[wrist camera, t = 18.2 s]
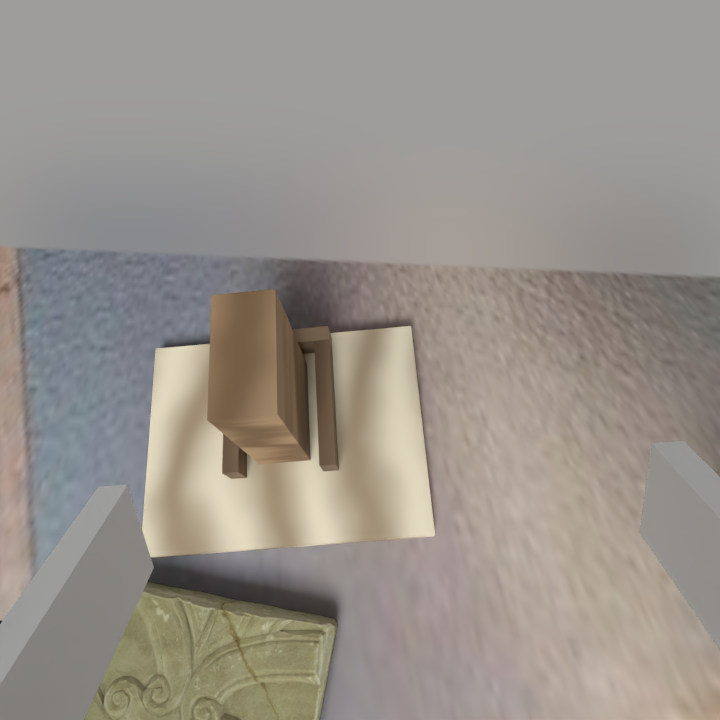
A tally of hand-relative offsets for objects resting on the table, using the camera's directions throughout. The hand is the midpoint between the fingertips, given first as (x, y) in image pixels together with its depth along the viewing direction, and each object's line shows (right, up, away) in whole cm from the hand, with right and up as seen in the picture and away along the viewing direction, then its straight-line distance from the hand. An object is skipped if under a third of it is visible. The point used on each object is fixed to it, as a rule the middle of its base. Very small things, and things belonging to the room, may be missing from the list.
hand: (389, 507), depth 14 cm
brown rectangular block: (-7, -1, +30) cm, 31 cm away
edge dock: (-7, -3, +31) cm, 32 cm away
